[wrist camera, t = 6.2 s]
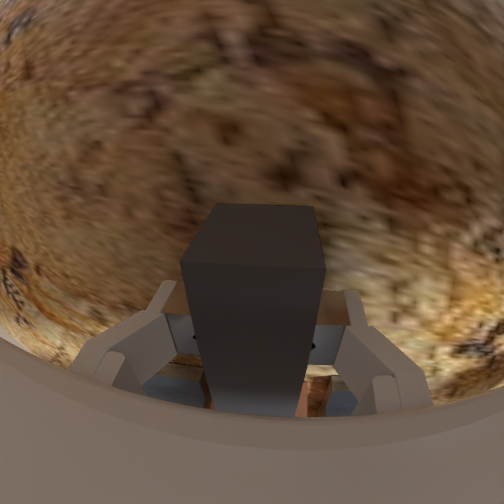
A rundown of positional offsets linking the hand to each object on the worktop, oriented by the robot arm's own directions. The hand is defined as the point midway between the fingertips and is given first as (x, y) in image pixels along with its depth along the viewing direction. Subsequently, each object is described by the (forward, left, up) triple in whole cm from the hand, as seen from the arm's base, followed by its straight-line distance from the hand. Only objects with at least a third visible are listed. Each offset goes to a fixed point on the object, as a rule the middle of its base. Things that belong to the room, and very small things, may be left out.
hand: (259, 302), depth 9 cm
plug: (+5, 0, -2) cm, 6 cm away
